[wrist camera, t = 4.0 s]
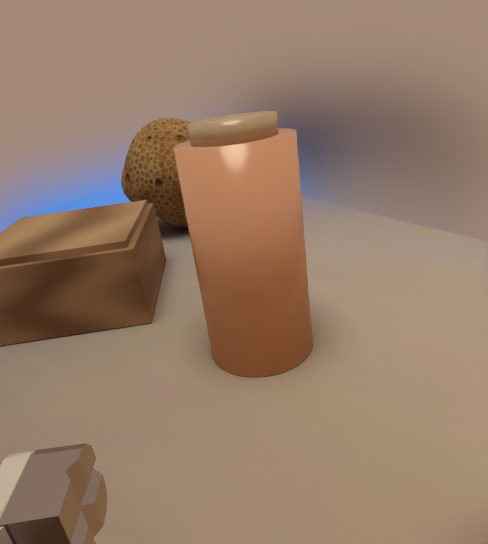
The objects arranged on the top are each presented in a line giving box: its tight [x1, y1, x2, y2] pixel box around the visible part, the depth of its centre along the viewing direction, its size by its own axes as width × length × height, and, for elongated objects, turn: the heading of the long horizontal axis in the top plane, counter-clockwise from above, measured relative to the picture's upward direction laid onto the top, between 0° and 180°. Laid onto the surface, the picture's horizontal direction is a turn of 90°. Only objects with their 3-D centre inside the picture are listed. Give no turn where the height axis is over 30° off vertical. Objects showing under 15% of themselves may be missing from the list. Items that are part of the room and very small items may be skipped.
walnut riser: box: [0, 200, 166, 346], centre depth 29 cm, size 10×10×5 cm
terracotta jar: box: [173, 111, 312, 377], centre depth 20 cm, size 5×5×11 cm
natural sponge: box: [121, 118, 190, 228], centre depth 40 cm, size 9×9×10 cm
